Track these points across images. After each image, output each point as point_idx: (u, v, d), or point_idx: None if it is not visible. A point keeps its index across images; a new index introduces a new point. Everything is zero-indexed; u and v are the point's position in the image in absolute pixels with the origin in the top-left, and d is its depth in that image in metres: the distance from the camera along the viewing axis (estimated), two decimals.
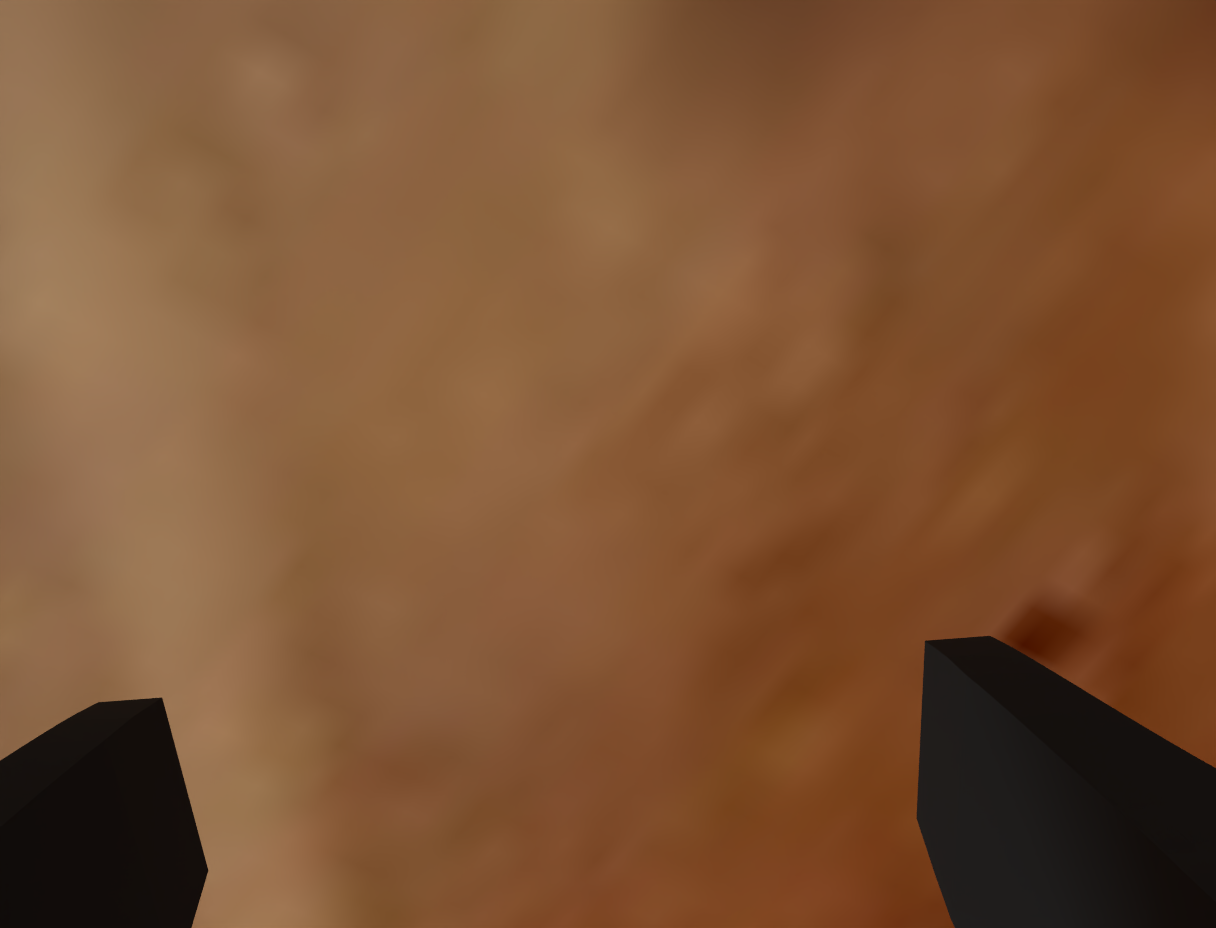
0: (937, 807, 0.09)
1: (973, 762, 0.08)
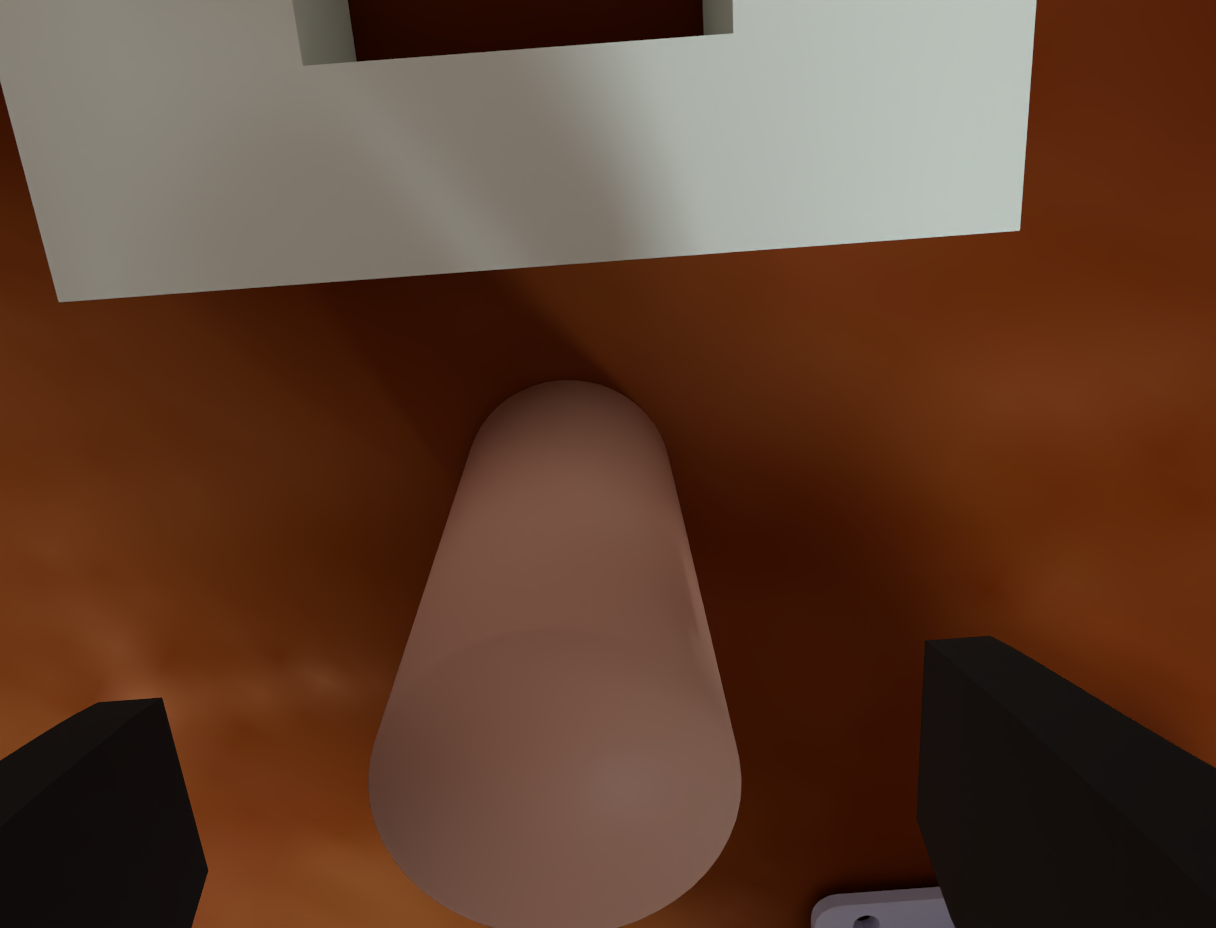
0: (937, 807, 0.09)
1: (973, 762, 0.08)
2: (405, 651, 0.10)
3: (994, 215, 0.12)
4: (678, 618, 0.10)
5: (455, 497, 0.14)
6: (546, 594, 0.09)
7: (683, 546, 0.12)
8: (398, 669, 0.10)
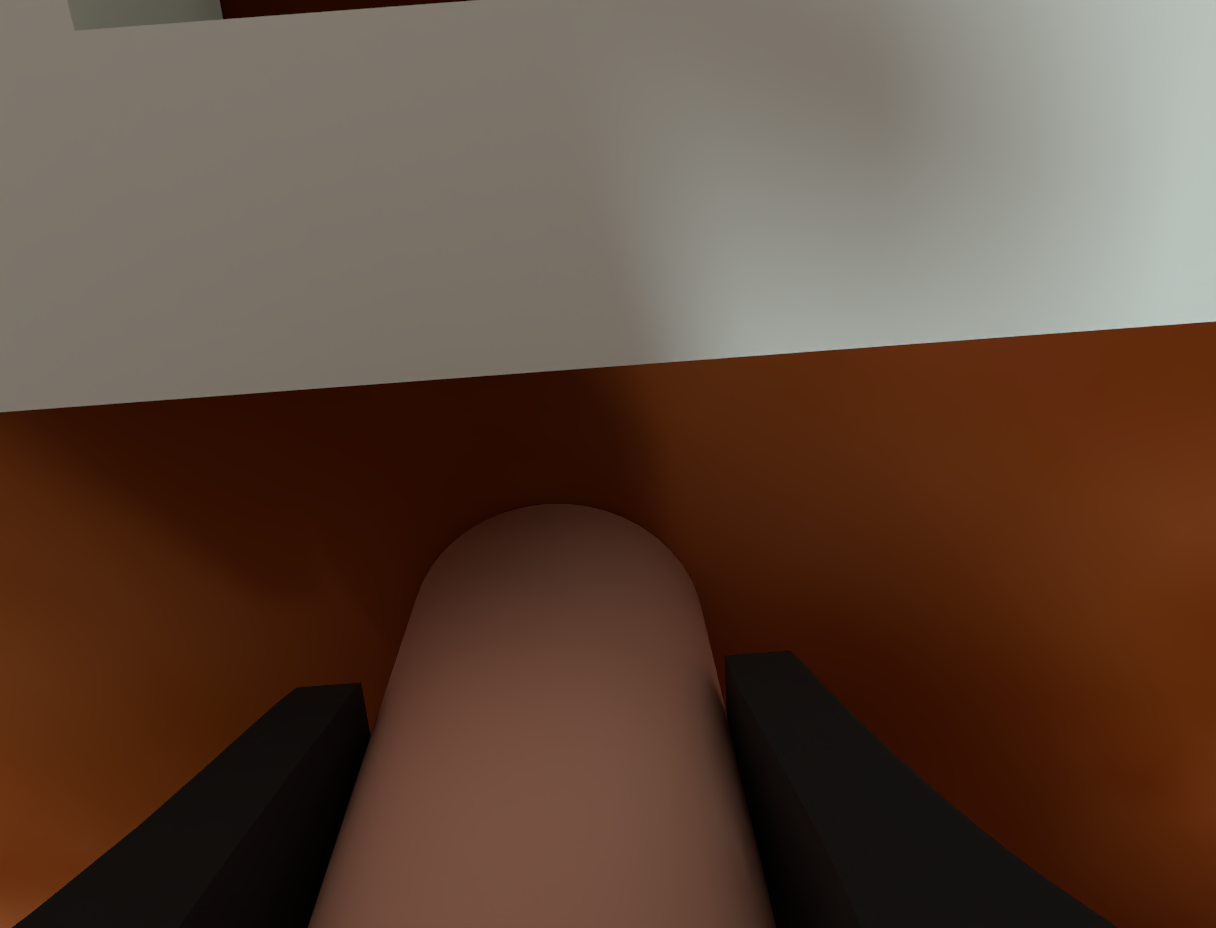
0: None
1: (748, 779, 0.08)
2: None
3: None
4: None
5: (377, 720, 0.09)
6: None
7: (750, 862, 0.07)
8: None
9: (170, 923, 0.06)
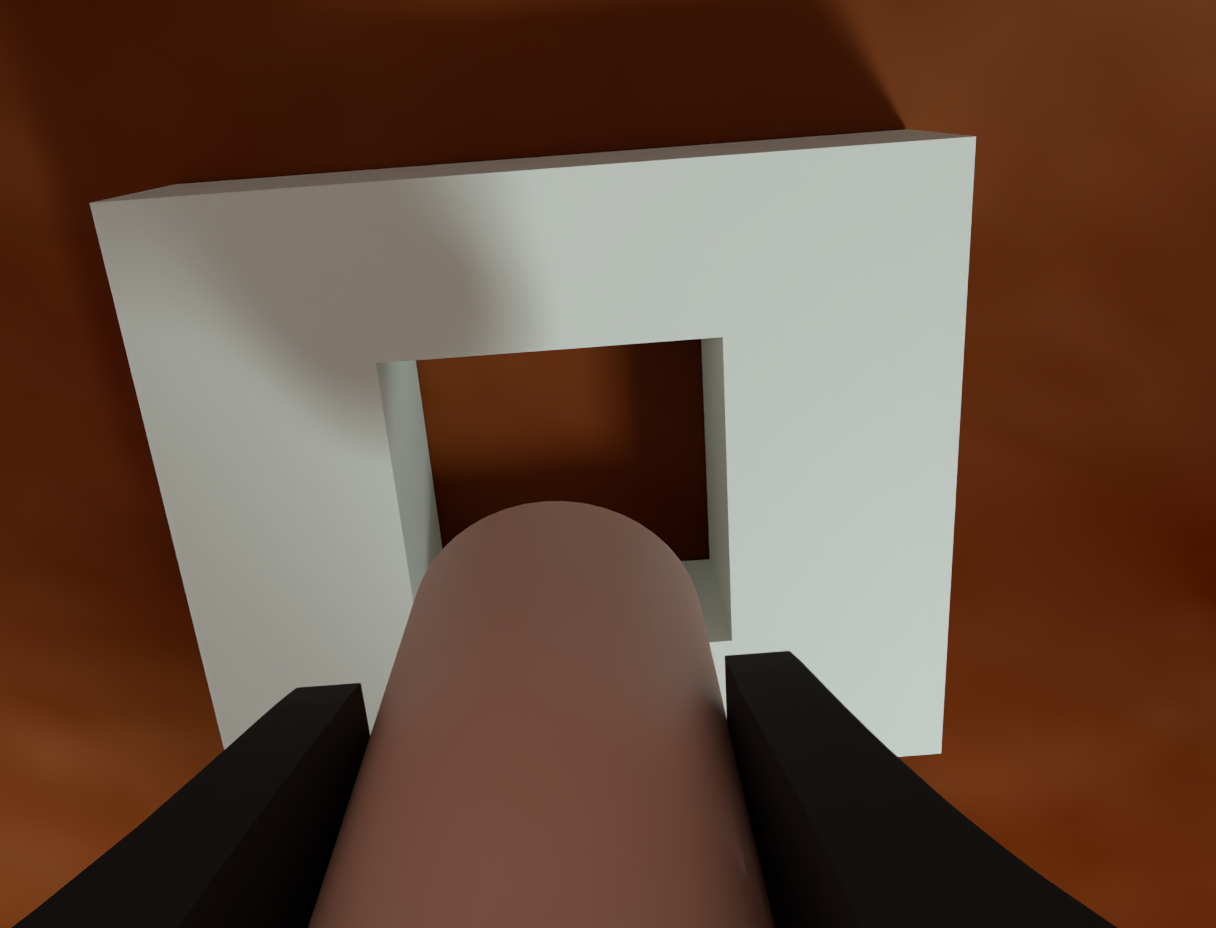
0: None
1: (748, 779, 0.08)
2: None
3: (922, 744, 0.17)
4: None
5: (377, 717, 0.09)
6: None
7: (748, 860, 0.07)
8: None
9: (170, 923, 0.06)
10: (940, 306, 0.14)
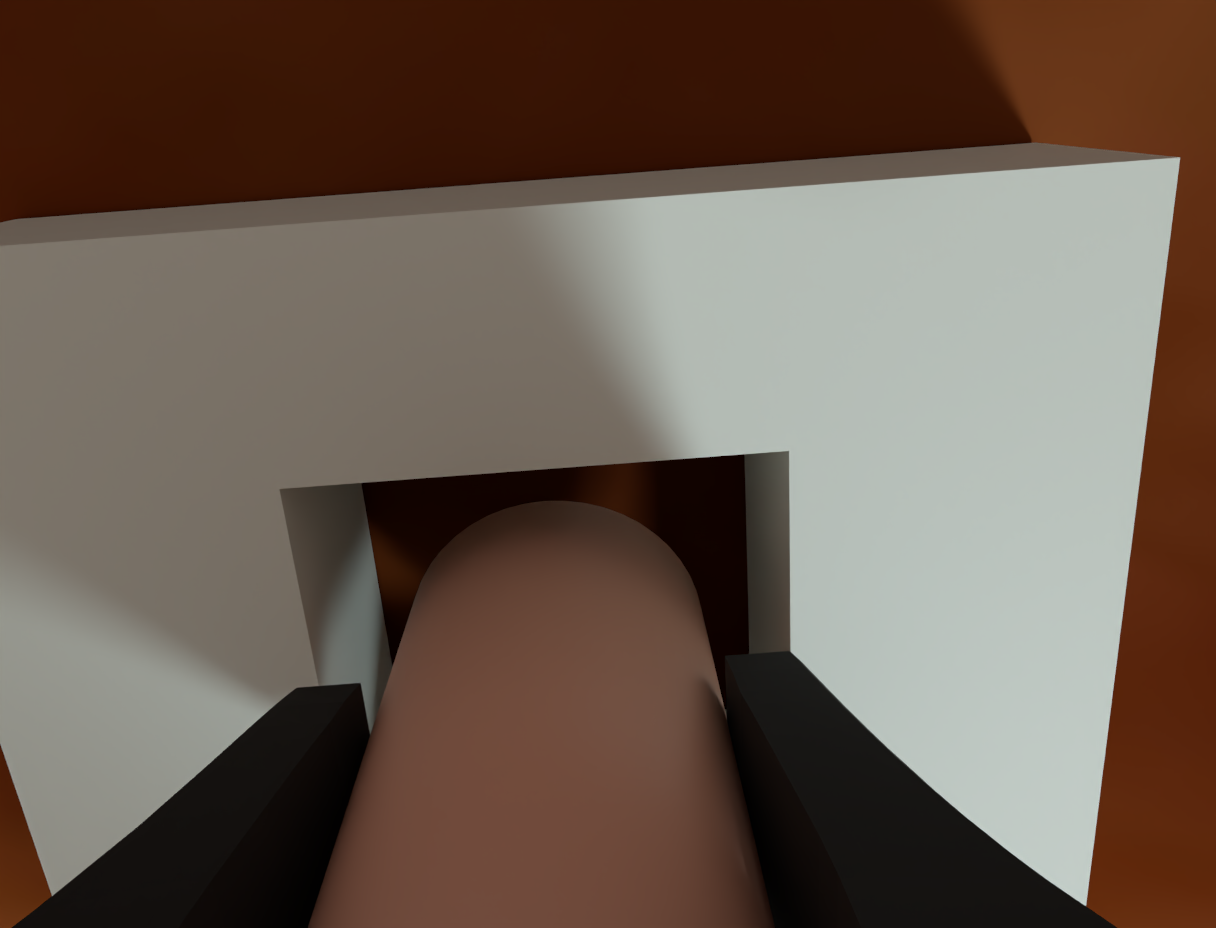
0: None
1: (748, 779, 0.08)
2: None
3: None
4: None
5: (377, 717, 0.09)
6: None
7: (749, 859, 0.07)
8: None
9: (170, 923, 0.06)
10: (1110, 406, 0.10)
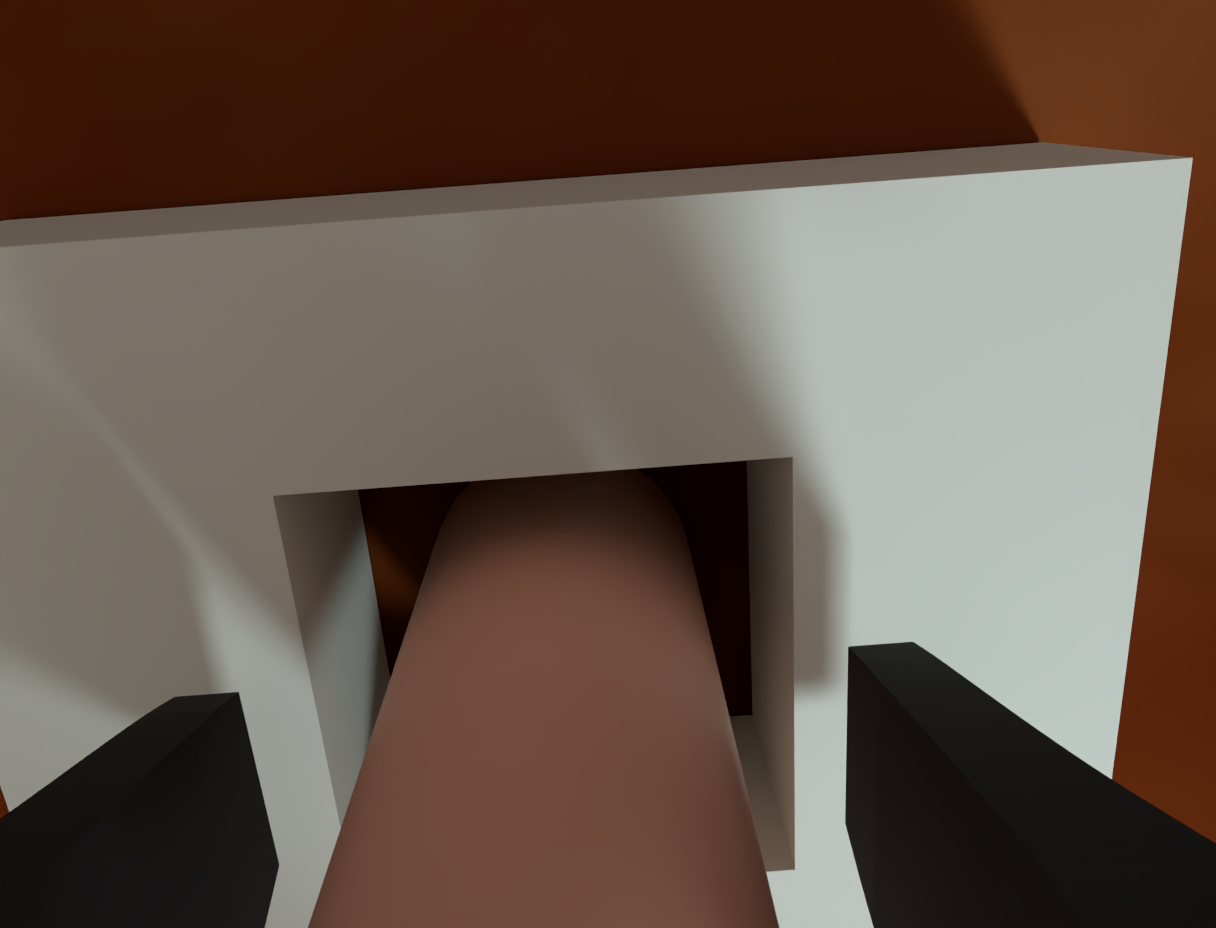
0: (860, 812, 0.09)
1: (886, 768, 0.08)
2: (311, 922, 0.07)
3: None
4: (728, 884, 0.06)
5: (411, 617, 0.10)
6: (522, 869, 0.06)
7: (719, 710, 0.09)
8: None
9: None
10: (1120, 411, 0.09)
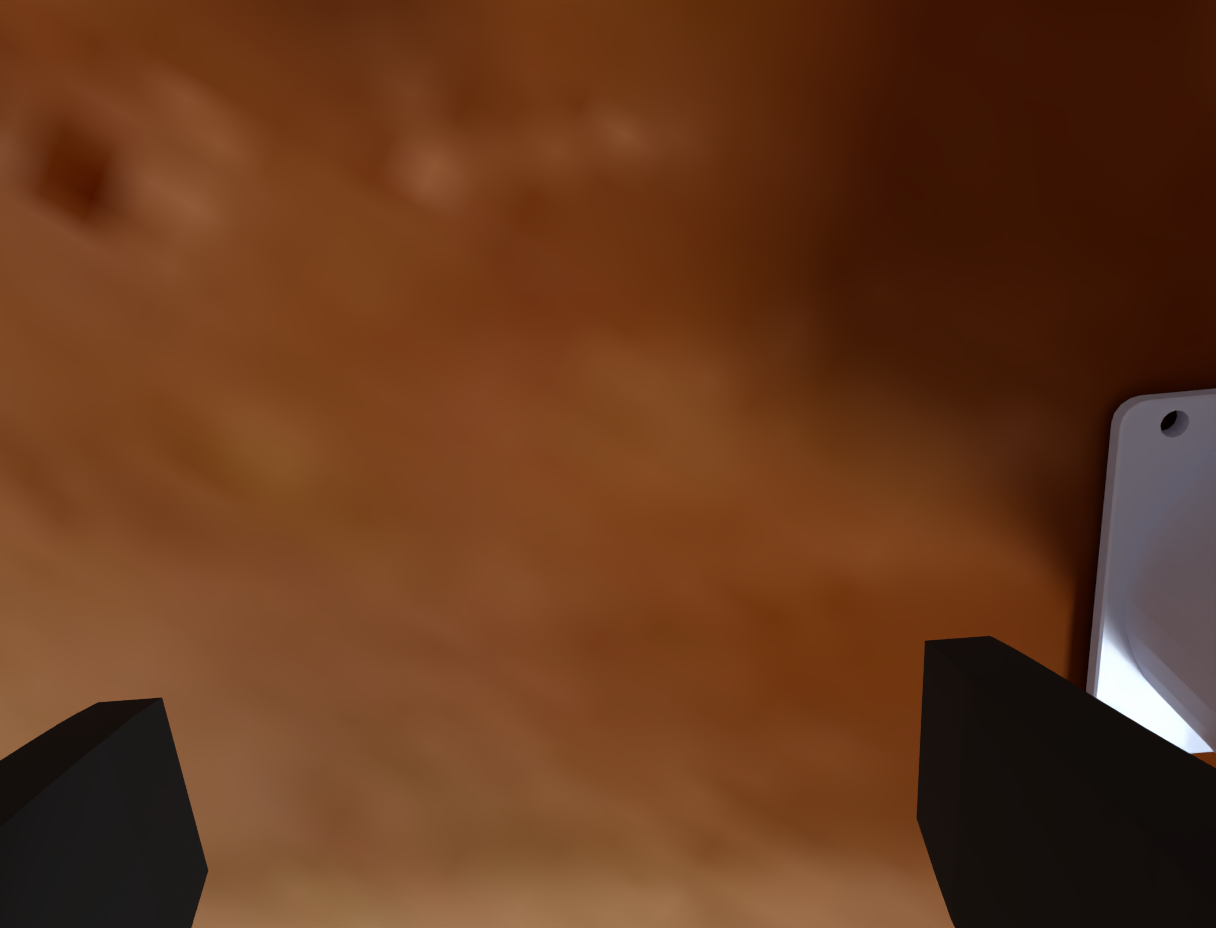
0: (937, 807, 0.09)
1: (973, 762, 0.08)
2: None
3: None
4: None
5: None
6: None
7: None
8: None
9: None
10: None
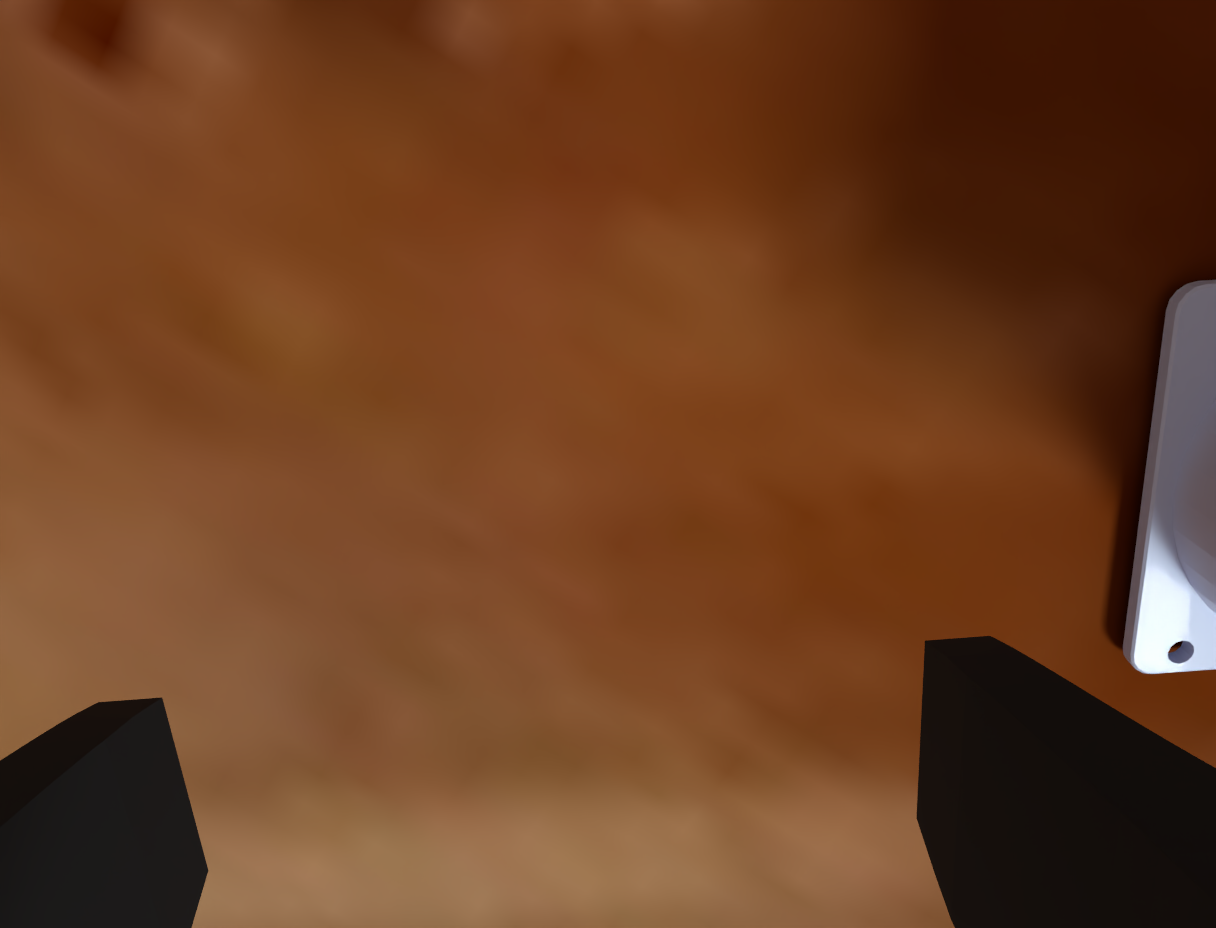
0: (937, 807, 0.09)
1: (973, 762, 0.08)
2: None
3: None
4: None
5: None
6: None
7: None
8: None
9: None
10: None
